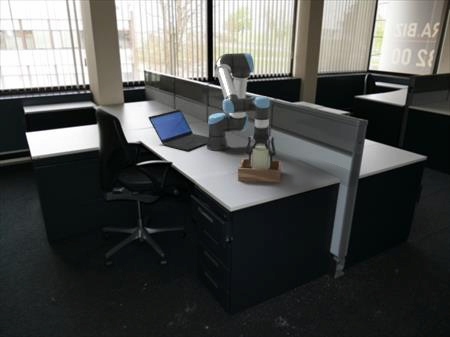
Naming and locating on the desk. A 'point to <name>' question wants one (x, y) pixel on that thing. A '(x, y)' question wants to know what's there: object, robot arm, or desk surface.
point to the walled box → (259, 172)
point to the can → (260, 157)
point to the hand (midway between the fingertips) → (260, 166)
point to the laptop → (176, 131)
